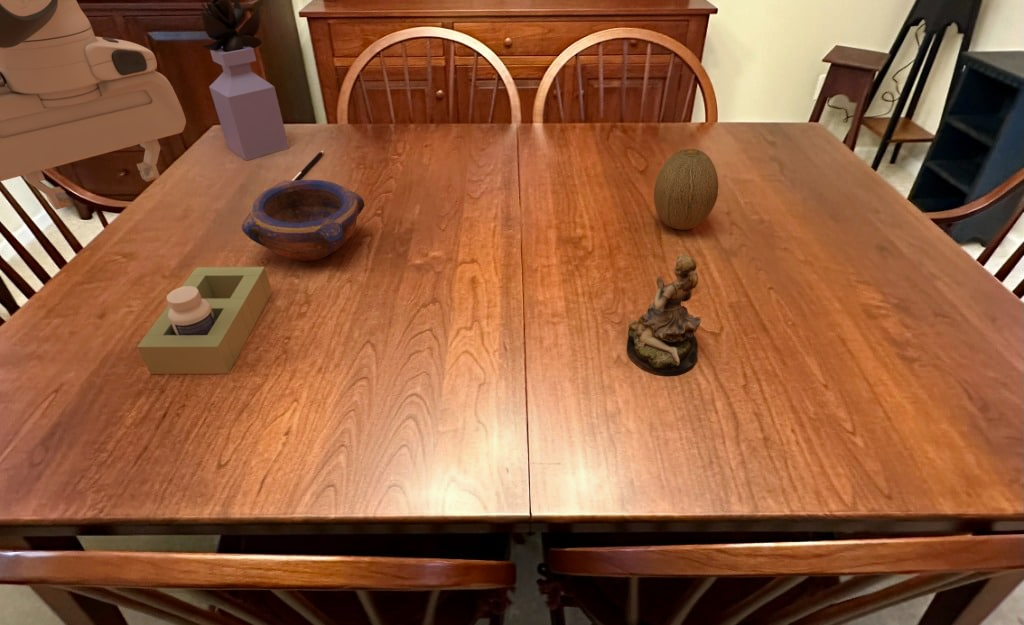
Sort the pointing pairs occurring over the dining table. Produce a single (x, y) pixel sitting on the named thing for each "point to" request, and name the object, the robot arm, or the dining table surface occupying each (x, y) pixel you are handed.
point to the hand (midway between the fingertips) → (108, 191)
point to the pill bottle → (189, 312)
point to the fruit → (686, 189)
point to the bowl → (303, 218)
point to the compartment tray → (236, 312)
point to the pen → (308, 166)
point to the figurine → (667, 326)
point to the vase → (242, 83)
